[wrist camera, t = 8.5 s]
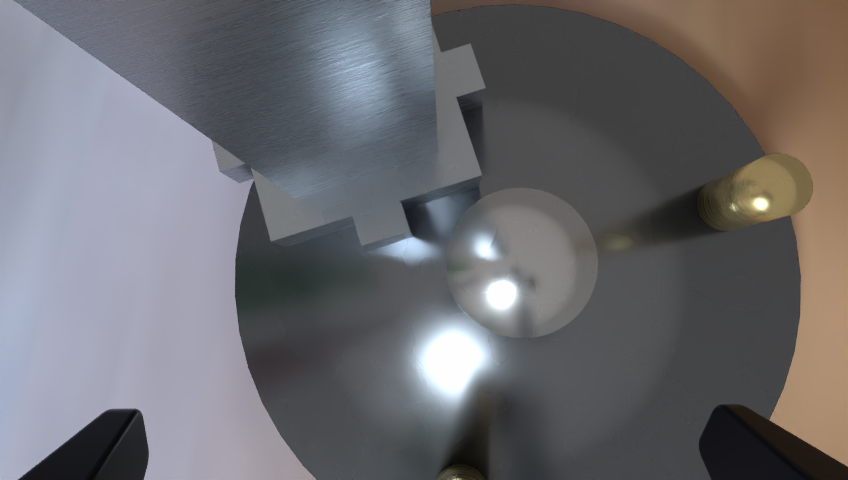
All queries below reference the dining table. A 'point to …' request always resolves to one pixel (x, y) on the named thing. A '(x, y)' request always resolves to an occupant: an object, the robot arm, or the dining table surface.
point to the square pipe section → (301, 100)
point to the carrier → (542, 279)
